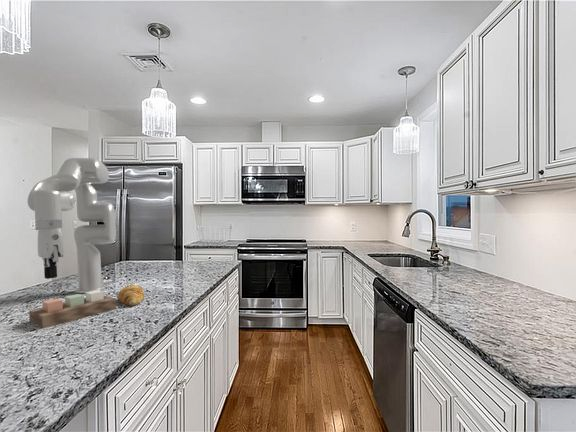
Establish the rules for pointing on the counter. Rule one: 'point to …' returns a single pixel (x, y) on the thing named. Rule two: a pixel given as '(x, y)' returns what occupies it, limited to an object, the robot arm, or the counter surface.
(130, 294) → the croissant
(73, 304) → the sage key
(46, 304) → the terracotta key
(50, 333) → the counter surface
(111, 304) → the wooden compartment tray
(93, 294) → the cream cube
